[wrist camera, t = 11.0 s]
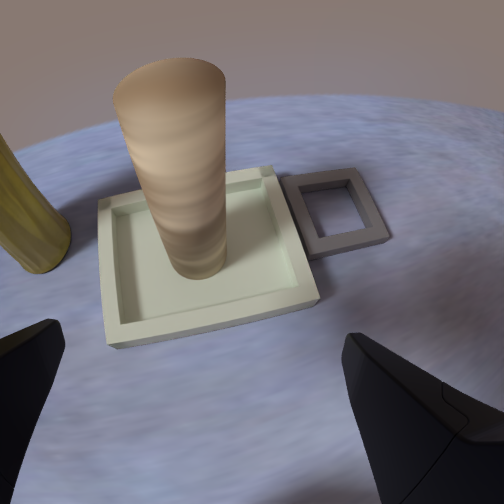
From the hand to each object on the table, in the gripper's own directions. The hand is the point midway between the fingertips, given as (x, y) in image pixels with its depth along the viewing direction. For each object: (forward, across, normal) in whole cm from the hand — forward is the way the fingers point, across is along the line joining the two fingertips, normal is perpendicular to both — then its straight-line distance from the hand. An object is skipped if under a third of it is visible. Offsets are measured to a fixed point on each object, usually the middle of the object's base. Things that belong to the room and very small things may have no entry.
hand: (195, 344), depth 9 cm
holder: (+19, -10, 0) cm, 21 cm away
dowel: (+15, +2, +3) cm, 16 cm away
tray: (+16, +2, +3) cm, 16 cm away
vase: (+17, +16, +3) cm, 24 cm away
